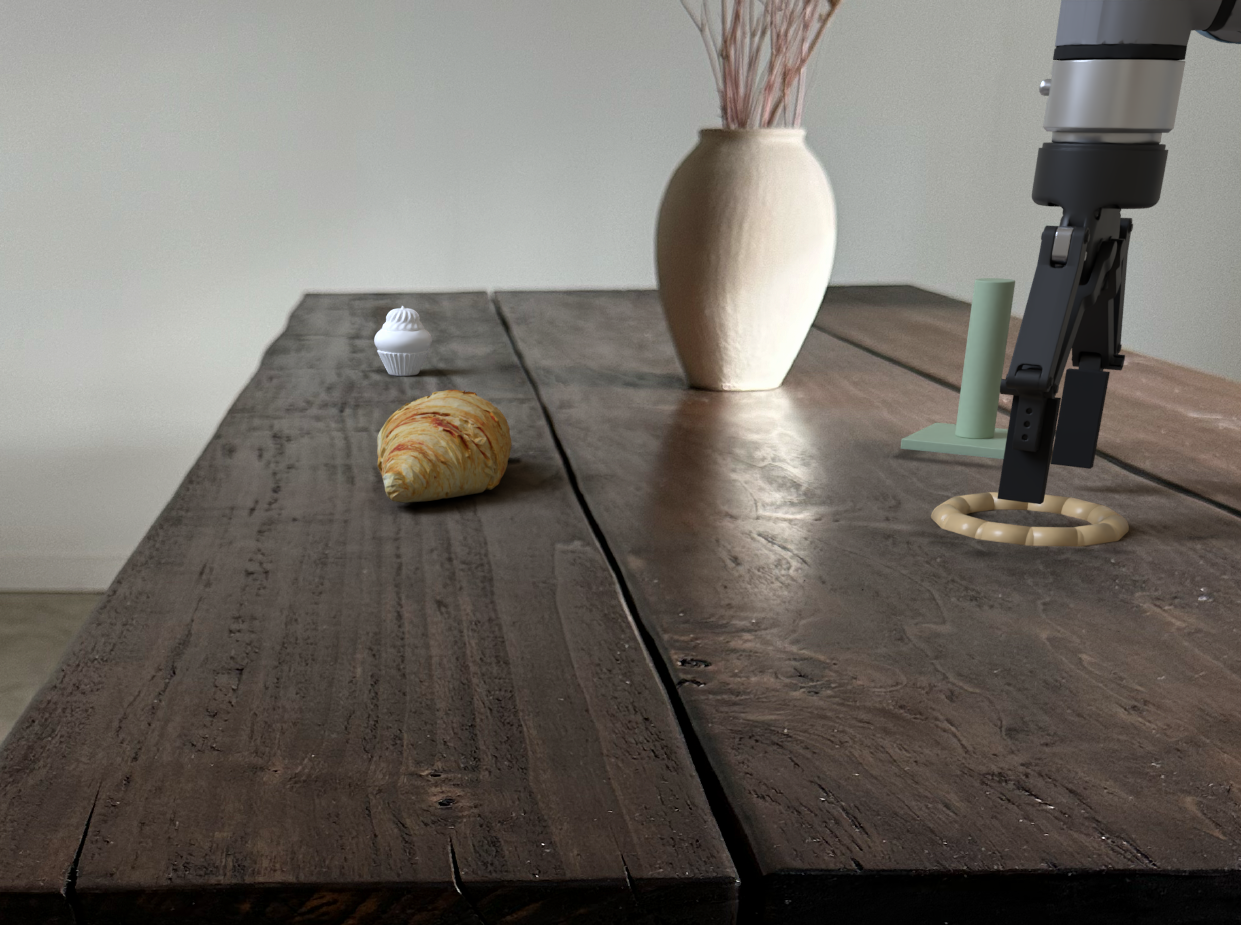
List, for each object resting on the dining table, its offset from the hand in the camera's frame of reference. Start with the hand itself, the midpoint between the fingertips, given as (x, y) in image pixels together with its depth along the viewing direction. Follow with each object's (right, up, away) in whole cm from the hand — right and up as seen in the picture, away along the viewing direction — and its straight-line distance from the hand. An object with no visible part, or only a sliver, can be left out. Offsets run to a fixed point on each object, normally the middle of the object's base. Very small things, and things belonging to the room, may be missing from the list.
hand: (1047, 482), depth 107 cm
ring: (-2, -3, -3) cm, 5 cm away
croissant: (-41, +2, +13) cm, 43 cm away
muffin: (-44, +25, +64) cm, 82 cm away
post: (+3, +7, +23) cm, 24 cm away
